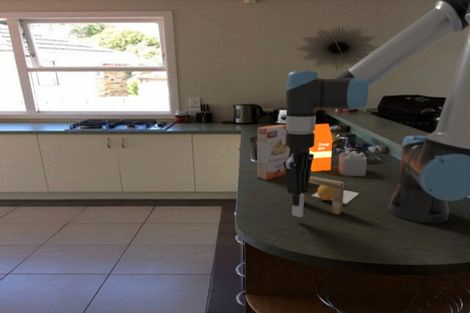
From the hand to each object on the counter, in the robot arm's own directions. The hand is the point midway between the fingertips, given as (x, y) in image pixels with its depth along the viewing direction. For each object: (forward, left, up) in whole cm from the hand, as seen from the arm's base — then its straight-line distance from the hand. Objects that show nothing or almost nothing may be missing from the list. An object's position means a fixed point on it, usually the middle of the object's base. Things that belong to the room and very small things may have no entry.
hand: (297, 215), depth 88 cm
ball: (+1, -21, +1) cm, 21 cm away
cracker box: (+29, -33, -2) cm, 44 cm away
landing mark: (0, -27, -2) cm, 27 cm away
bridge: (0, -13, -2) cm, 13 cm away
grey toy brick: (+6, -59, -2) cm, 59 cm away
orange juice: (+20, -55, -2) cm, 59 cm away
